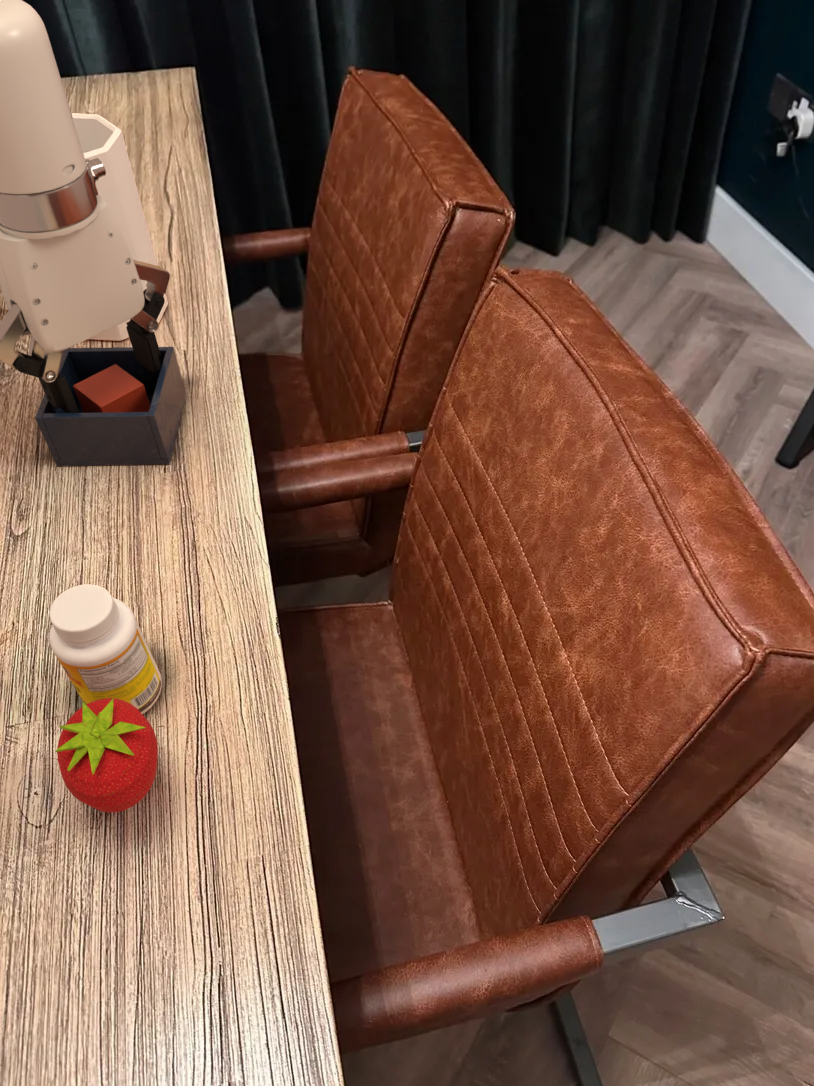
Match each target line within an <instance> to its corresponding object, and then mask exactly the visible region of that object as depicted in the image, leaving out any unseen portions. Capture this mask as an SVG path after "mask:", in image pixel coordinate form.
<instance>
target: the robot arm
mask: <svg viewBox="0 0 814 1086" xmlns="http://www.w3.org/2000/svg"><path fill="white" fill-rule="evenodd" d="M71 113H72V111H71V108H70V104H69V101H68V97H67V95H66V91H65V87H64V84H63V81H62V77H61V75H60V71H59V67H58V64H57V61H56V58H55V54H54V51H53V47H52V44H51V41H50V38H49V34H48V30H47V28H46V25H45V23H44V21H43V19H42V17H41V16H40V14H38V12H37V10H36V9H35V8H33V6H32V5H30V4H29V3H27V2H26V1H24V0H0V290H1V294H2V296H3V300H4V303H5V306H6V308H7V310H8V311H7V312H6V314H5V315H4V317H3V318H2V320H1V322H0V362H2V363H3V364H5V365H7V366H9V367H11V368H13V369H14V370H16V371H18V372H19V373H21V374H23V375H24V374H25V375H27V376H30V377H34V378H37V379H38V381H39V383H40V385H41V388H42V390H43V393H44V394H45V395H46V397H47V399H48V401H49V403H50V404H51V405H52V406H53V407H54V408H56V409H58V408H61V409H62V410H64V411H65V412H66V413H79V410H78V407H77V405H76V402H75V400H74V397H73V395H72V392H71V390H70V387H69V385H68V382H67V380H66V378H65V377H64V376H63V375H61V374H60V373H59V372H58V371H59V367H60V363H61V358H62V354H63V350H66V349H68V348H73V347H75V346H77V345H79V344H81V343H83V342H85V341H88V340H90V339H89V338H91V337H94V336H96V335H98V334H100V333H102V332H104V331H106V330H108V329H110V328H112V327H114V326H116V325H118V324H120V323H123V322H125V321H127V320H128V319H131V320H130V321H129V322H127V327H126V328H127V332H128V335H129V338H128V339H129V341H130V344H131V347H132V348H133V351H134V354H135V357H136V360H137V361H138V362H139V363H140V364H142V365H143V366H145V367H146V368H147V369H149V370H150V371H151V372H153V373H159V372H160V371H161V365H160V361H159V358H158V357H159V356H160V355H161V354H160V350H159V347H160V346H159V343H158V339H157V337H156V333H155V332H156V331H157V330H158V328H159V324H158V322H157V321H156V320H157V318H158V316H159V314H160V312H161V309H162V307H163V305H164V302H165V299H164V297H163V296H164V294H166V292H167V289H168V286H169V282H170V278H171V274H170V272H169V271H168V270H166V269H165V268H163V267H161V266H160V265H158V266H156V265H152V264H148V263H144V262H140V261H136V260H133V259H132V256H131V253H130V251H129V248H128V246H127V244H126V241H125V239H124V237H123V235H122V232H121V230H120V228H119V226H118V224H117V222H116V220H115V218H114V216H113V214H112V212H111V210H110V209H109V207H108V205H107V203H106V201H105V200H104V199H103V198H102V197H101V196H100V195H98V191H97V188H96V185H95V183H96V181H98V179H99V178H100V177H103V176H105V175H106V170H105V167H104V165H103V163H102V162H101V160H99V159H98V158H95V159H92V160H89V159H86V160H85V157H84V154H83V150H82V147H81V144H80V140H79V137H78V134H77V130H76V127H75V124H74V120H73V117H72V114H71ZM140 279H141V280H145V281H147V285H146V286H147V289H145V290H144V291H143V289H142V285H141V282H140ZM30 335H31V339H30V344H29V348H28V353H23V352H21V351H18V350H15V345H16V344H17V343H18V341H19V340H20V338H21V337H22V336H23V337H24V336H30Z"/></svg>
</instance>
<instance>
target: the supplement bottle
mask: <svg viewBox="0 0 814 1086" xmlns="http://www.w3.org/2000/svg"><path fill="white" fill-rule="evenodd" d="M48 614H49V620H50V622H51V627H50V628H49V629H50V630H49V637H48V639H49V646H50V648H51V650H52V652H53V654H54V656H55V658H56V659H57V661H58V663H59V664H60V666H61V667H62V669H63V670H64V672H65V674H66V675H67V677H68V679H69V680H70V683H71V684H72V686H73V687H74V689H75V690H76V692H77V694H78V695H79V697H80V699H81V700H82V703H83V702H84V703H85V704H88V703H90V702H93V701H95V700H99V699H104V698H115V699H120V700H123V701H126V702H128V703H130V704H131V705H133V706H134V707H136V708H137V709H138V710H139V711H140V712H141V713H142V714H143V715H144V714H145V713H146V712H148V711H149V710H150V709H151V708H152V707H153V706H154V705H155V704H156V702H157V701H158V698H159V696H160V695H161V691H162V688H163V678H162V675H161V672H160V670H159V666H158V665H157V663H156V660H155V658H154V656H153V654H152V651H151V649H150V646H149V644H148V642H147V640H146V638H145V636H144V634H143V631H142V629H141V626H140V624H139V622H138V620H137V618H136V615H135V614H134V612H133V610H132V608H131V607H129V606H128V605H127V603H125V602H124V601H122V600H120V599H118V598H115V597H113V596H112V594H111V593H110V591H108V590H107V589H106V588H105V587H103V586H101V585H98V584H92V583H91V584H90V583H86V584H85V583H84V584H79V585H75V586H72V587H70V588H67V589H66V590H64V591H63V592H61V593H60V594H59V595H57V596H56V597H55V599H54V600H53V602H52V603H51V605H50V608H49V612H48Z"/></svg>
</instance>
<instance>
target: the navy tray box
mask: <svg viewBox="0 0 814 1086" xmlns="http://www.w3.org/2000/svg"><path fill="white" fill-rule="evenodd" d="M158 347H159V350H160V354H161V355H160V356H159V357H158V358H159V361H160V365H161V371H160V372H159V373H153V372H151V371H150V370H149V369H147V368H146V367H145V366H143V365H142V364H140V363H139V362H138V361H137V360H136V357H135V354H134V351H133V348H132V346H131V347H130V346H124V347H123V346H122V347H121V346H118V347H117V346H116V347H115V346H114V347H70V348H68V349H66V350H63V354H62V358H61V363H60V367H59V371H58V372H59V373H60V374H61V375H63V376H64V377H65V378H66V380H67V382H68V385H69V387H70V390H71V392H72V395H73V397H74V400H75V402H76V405H77V407H78V410H79V413H66V412H65V411H64V410H62V409H61V408H58V409H56V408H54V407H53V406H52V405H51V404H50V403H49V401H48V399H47V397H46V395H45V393H44V395H43V396H42V399H41V402H40V404H39V407H38V409H37V411H36V414H35V416H34V419H35V421H36V423H37V425H38V428H39V430H40V432H41V435H42V437H43V439H44V441H45V443H46V446H47V448H48V450H49V452H50V454H51V457H52V459H53V461H54V463H55V465H56V467H89V466H90V467H93V466H95V467H97V466H98V467H99V466H149V465H150V466H151V465H152V466H153V465H156V464H157V465H170V464H171V461H172V456H173V453H174V452H173V451H174V447H175V444H176V439H177V435H178V431H179V428H180V424H181V420H182V416H183V411H184V407H185V404H186V399H187V391H186V387H185V384H184V380H183V376H182V373H181V369H180V365H179V362H178V359H177V355H176V351H175V348H174V346H158ZM115 364H116V365H118V366H119V367H120V368H122V369H123V370H124V371H126V372H127V373H128V374H130V375H131V376H133V377H134V378H135V379H137V380H138V381H139V382H141V383H142V384H143V385H144V387H145V391H146V394H147V397H148V400H149V403H150V409H149V413H148V412H107V413H84V412H83V410H82V407H81V405H80V402H79V400H78V397H77V395H76V392H75V390H74V387H73V385H75V384H77V383H79V382H81V381H83V380H85V379H87V378H89V377H91V376H93V375H95V374H97V373H99V372H101V371H103V370H105V369H107V368H109V367H111V366H113V365H115ZM157 465H156V466H157Z"/></svg>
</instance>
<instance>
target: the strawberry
mask: <svg viewBox="0 0 814 1086" xmlns="http://www.w3.org/2000/svg"><path fill="white" fill-rule="evenodd" d="M58 728H59V729H62V730H61V733H60V736H59V738H58V741H57V742H58V743H57V748H56V749H55V750H54V752H55V753H57V754H56V755H57V763H58V768H59V771H60V775H61V778H62V781H63V783H64V785H65V787H66V788H67V790H68V791H69V793H71V795H72V796H73V797H74V798H75V799H76V800H78V801H79V802H80V803H83V804H85V805H87V806H89V807H91V808H93V809H95V810H97V811H99V812H103V813H119V812H123V811H127V810H129V809H131V808H133V807H134V806H136V805H138V804H139V803H140V802H141V801H142V800H143V799H144V798H145V797H146V796H147V794H148V793H149V791H150V790H151V788H152V787H153V785H154V782H155V779H156V775H157V771H158V752H159V751H158V750H159V747H158V741H157V736H156V732H155V730H154V728H153V726H152V724H151V723H150V721H149V719H147V718H146V716H145V715H144V713H143V714H142V713H141V712H140V711H139V710H138V709H137V708H136V707H134V706H133V705H131V704H130V703H128V702H126V701H123V700H120V699H115V698H104V699H99V700H95V701H93V702H90V703H88V704H85V703H84V702H83V701H82V706H81V707H80V708H79V709H78V710H76V711H75V712H74V713H73V714H72V715H71V716H70V718H69V719H68V720H67V721H66V723H65V725H64V724H63V725H59V727H58Z"/></svg>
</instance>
